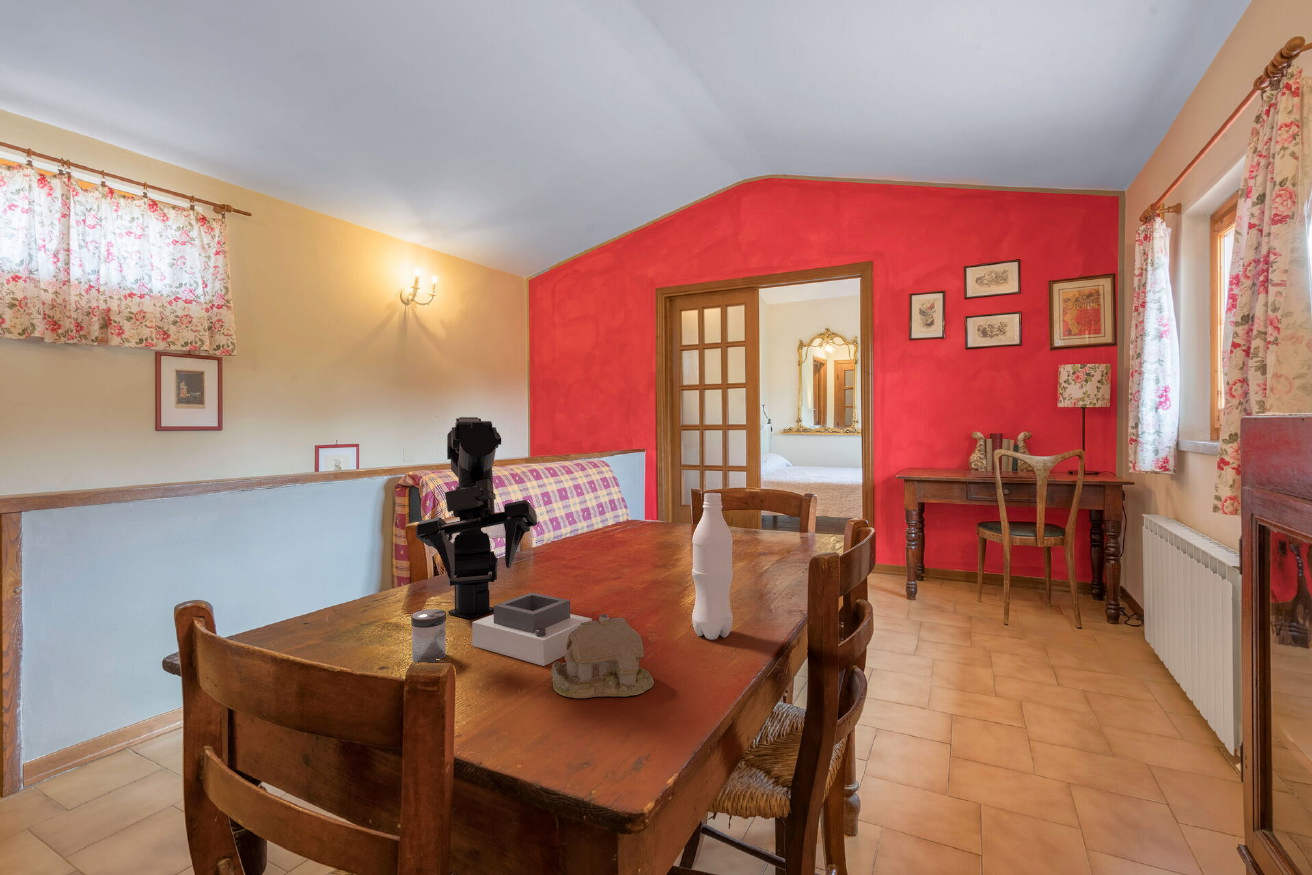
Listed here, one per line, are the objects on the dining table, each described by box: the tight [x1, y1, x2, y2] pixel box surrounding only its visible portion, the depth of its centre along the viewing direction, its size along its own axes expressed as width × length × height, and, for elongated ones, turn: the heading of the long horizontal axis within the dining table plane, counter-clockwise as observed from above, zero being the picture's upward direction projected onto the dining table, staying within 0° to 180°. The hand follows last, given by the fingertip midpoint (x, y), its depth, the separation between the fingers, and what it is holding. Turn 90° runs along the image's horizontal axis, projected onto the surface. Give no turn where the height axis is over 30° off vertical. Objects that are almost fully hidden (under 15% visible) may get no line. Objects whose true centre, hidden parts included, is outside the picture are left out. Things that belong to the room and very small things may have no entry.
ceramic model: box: [550, 613, 655, 699], centre depth 84 cm, size 14×11×10 cm
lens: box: [410, 608, 447, 663], centre depth 94 cm, size 5×5×7 cm
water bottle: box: [691, 492, 734, 641], centre depth 104 cm, size 7×7×25 cm
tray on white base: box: [471, 592, 593, 667], centre depth 100 cm, size 16×12×7 cm
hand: (479, 573), depth 94 cm, fingers open, 9 cm apart
